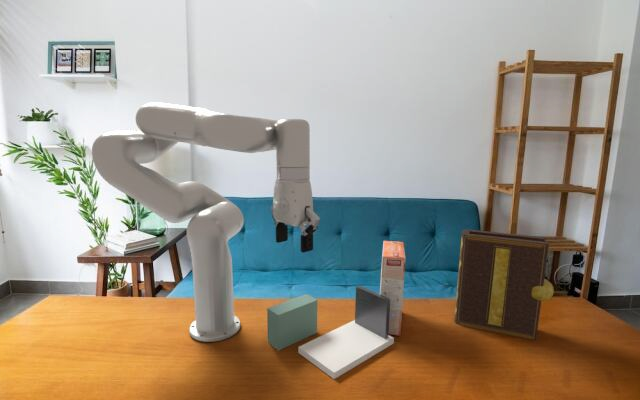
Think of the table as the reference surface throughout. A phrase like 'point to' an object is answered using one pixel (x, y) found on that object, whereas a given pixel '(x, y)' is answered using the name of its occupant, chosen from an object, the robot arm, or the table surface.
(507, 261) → the book
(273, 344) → the book block
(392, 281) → the cracker box
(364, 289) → the bookend
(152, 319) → the table surface
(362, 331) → the shelf board
